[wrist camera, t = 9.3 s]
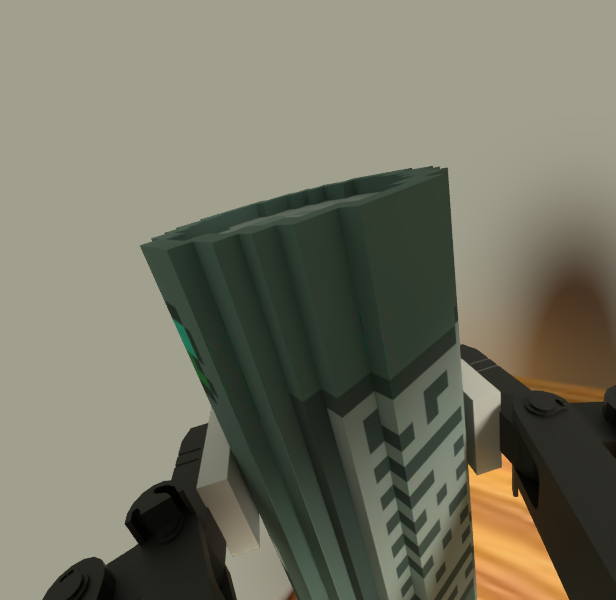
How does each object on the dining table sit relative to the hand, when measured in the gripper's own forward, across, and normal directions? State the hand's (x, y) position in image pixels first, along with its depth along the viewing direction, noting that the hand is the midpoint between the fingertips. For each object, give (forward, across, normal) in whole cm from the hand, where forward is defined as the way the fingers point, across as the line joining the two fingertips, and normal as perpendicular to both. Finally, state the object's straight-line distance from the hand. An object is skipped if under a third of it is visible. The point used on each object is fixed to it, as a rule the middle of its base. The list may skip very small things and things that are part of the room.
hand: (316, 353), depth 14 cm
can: (-5, 0, -8) cm, 10 cm away
